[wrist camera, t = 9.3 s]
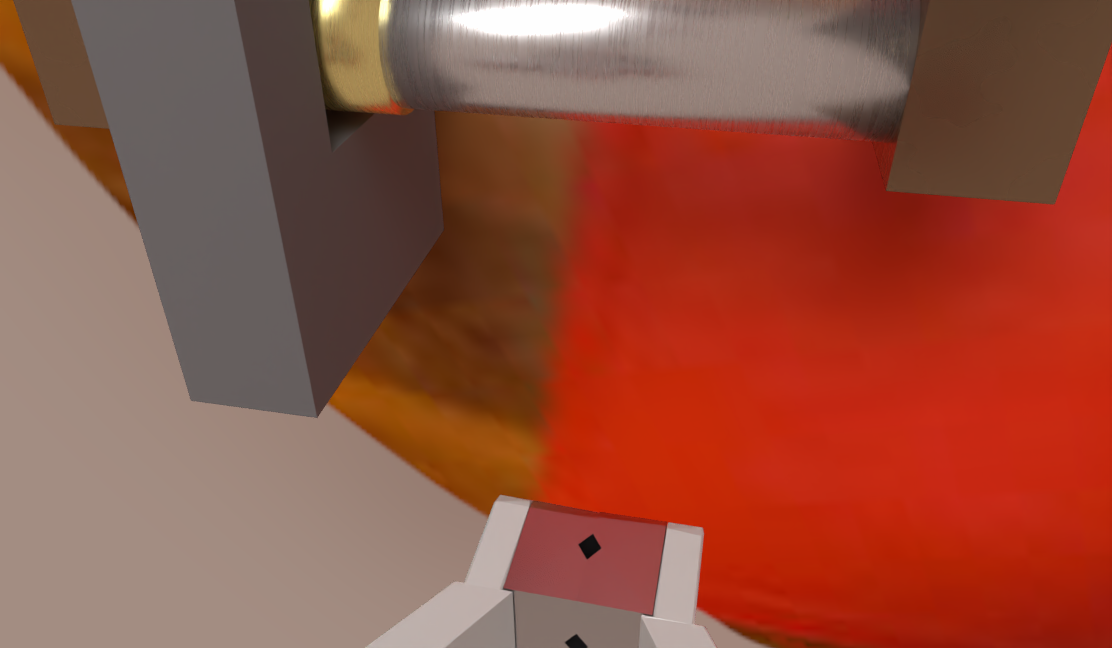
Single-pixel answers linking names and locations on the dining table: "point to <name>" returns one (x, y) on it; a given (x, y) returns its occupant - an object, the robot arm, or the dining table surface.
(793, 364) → the dining table surface
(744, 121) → the rod stand
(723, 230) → the dining table surface
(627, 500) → the dining table surface
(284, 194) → the grey flat block
